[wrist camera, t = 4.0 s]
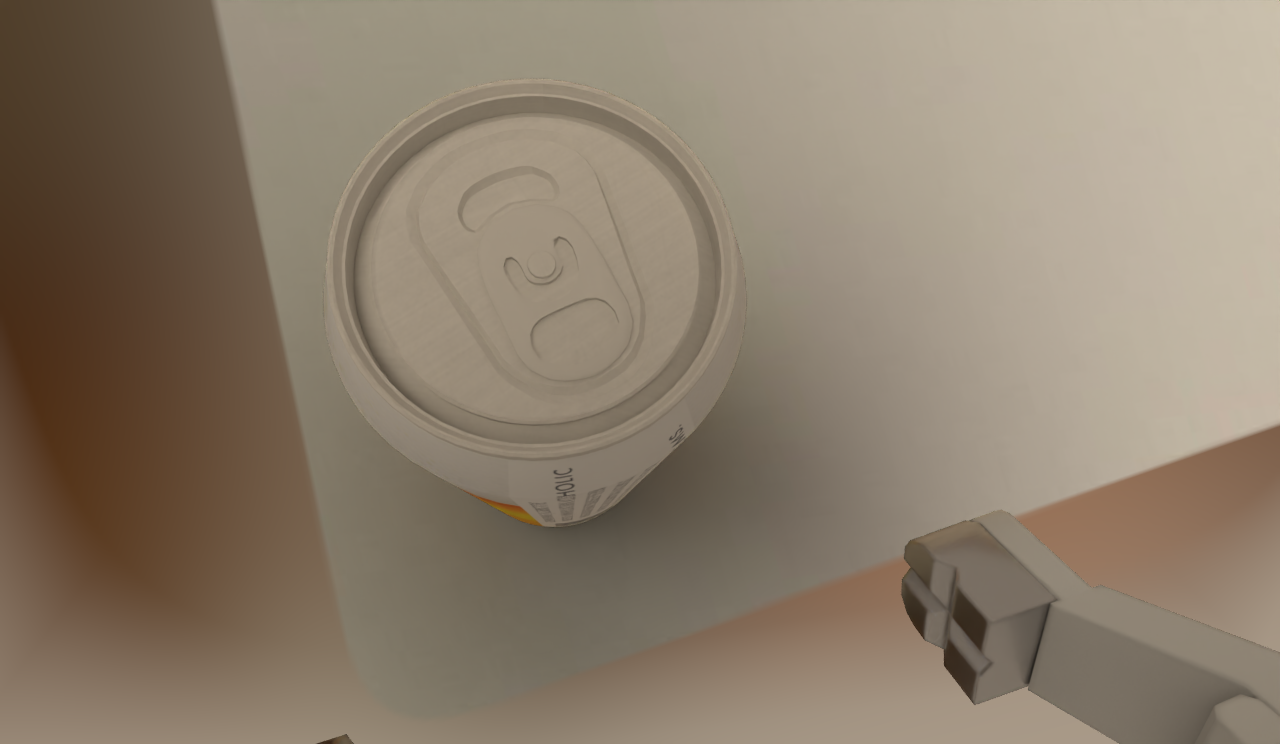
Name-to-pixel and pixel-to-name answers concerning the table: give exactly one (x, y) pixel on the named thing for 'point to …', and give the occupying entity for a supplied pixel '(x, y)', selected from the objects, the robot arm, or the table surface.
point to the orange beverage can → (534, 295)
